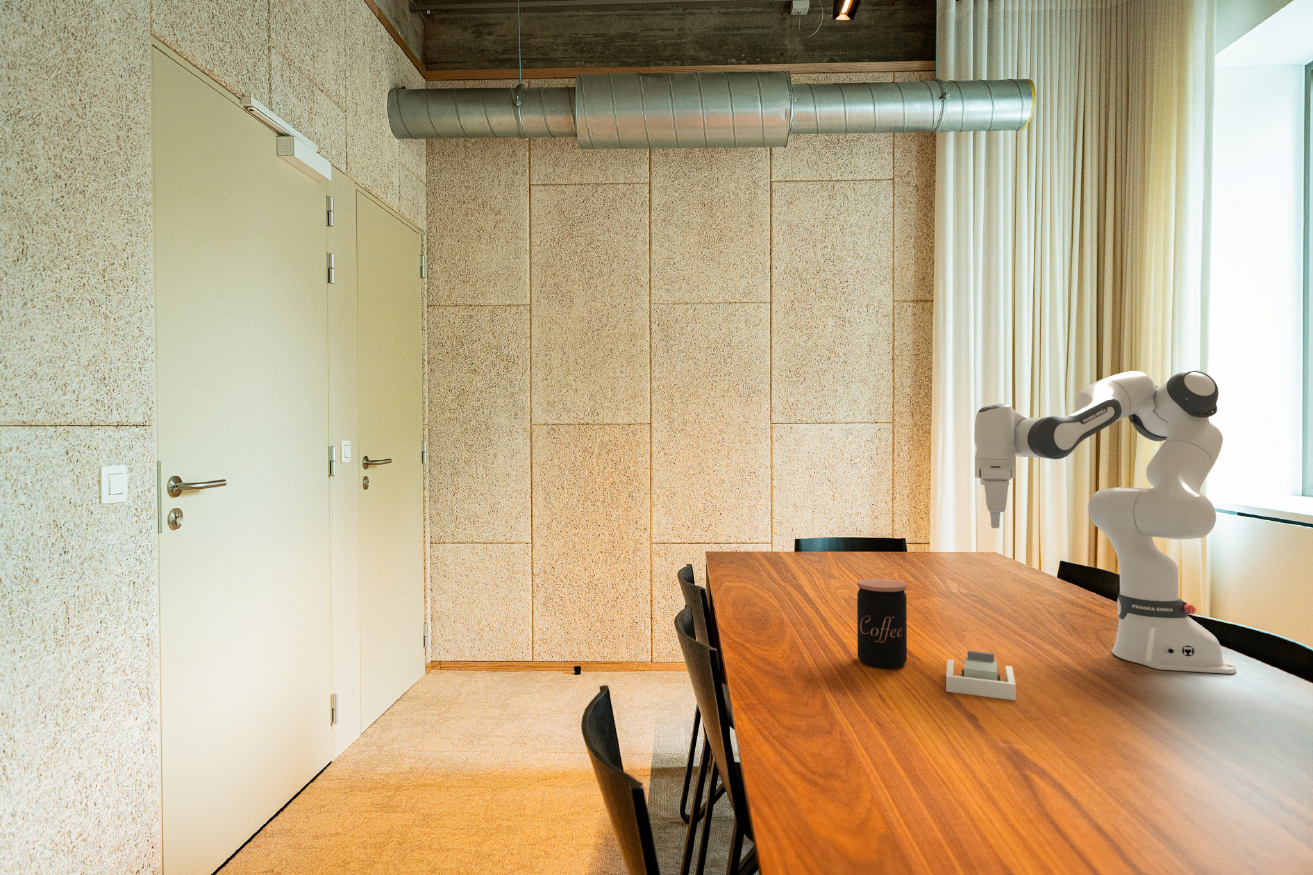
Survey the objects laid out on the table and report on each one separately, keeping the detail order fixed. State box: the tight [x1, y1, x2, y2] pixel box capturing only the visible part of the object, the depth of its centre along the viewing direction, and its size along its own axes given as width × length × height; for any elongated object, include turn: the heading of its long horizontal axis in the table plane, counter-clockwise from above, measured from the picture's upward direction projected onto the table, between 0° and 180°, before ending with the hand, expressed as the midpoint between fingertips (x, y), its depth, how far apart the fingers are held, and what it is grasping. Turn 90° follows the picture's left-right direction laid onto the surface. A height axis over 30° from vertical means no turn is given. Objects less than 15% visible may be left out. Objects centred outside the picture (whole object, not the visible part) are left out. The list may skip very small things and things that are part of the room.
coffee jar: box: [856, 578, 908, 670], centre depth 159 cm, size 11×11×18 cm
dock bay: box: [945, 658, 1017, 701], centre depth 144 cm, size 12×12×3 cm
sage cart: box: [961, 650, 1001, 681], centre depth 144 cm, size 7×8×6 cm
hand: (995, 527), depth 172 cm, fingers closed
